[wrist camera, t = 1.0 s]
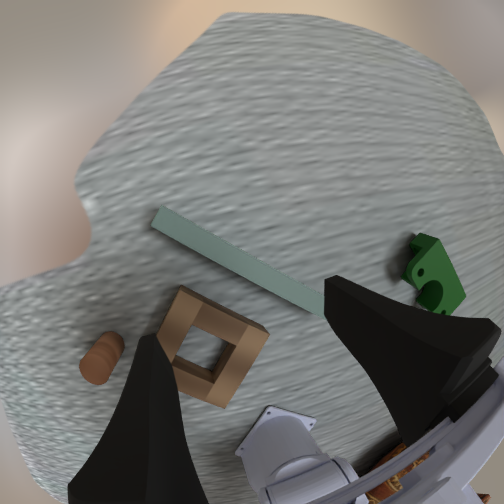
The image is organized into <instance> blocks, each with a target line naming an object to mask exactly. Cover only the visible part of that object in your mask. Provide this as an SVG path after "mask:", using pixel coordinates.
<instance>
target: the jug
mask: <svg viewBox="0 0 504 504" xmlns="http://www.w3.org/2000/svg"><path fill="white" fill-rule="evenodd" d="M406 449H407V447H406V446H405V444H404V443H401V444H399V445H398V446H396V447H395V448H393V449H392V450H391V451H390V452H389V453H387V454H386V455H385V456H384V457H382V458H381V459H380V460H379V461H378V462H377V464H376V465H375V466H374V467H373V468H372V469H371V470H370V471H369V473H370V472H371V471H373V470H375V469H376V468H378V467H380V466H381V465H383V464H384V463H386V462H388V461H389V460H391V459H392V458H394V457H395V456H397V455H398V454H400V453H401V452H403V451H404V450H406ZM430 450H431V449H430ZM430 450H429V451H428V452H426V453H425V454H424V455H423V456H421V457H420V458H419V459H417V460H416V461H414V462H413V463H412V464H410V465H409V466H408V467H406V468H405V469H403V470H402V471H400V472H399V473H397V474H396V475H394V476H393V477H391V478H390V479H388V480H387V481H385V482H383V483H382V484H380V485H378V486H377V487H375V488H373V489H372V490H370V491H368V492H366V493H365V495H366V497H367V499H368V501H369V503H368V504H378V503H379V502H381V501H383V500H384V499H386V498H388V497H389V496H391V495H393V494H394V493H396V492H397V491H399V490H400V489H402V488H403V487H402V485H401V484H400V482H399V479H400V478H401V477H403V476H404V475H406V474H407V473H409V472H410V471H411V470H413V469H414V468H415V467H417V466H418V465H419V464H421V463H422V462H423V461H425V460H426V459H427V458H428V457H429V452H430ZM477 495H478V497H479V498H480V499H481V501H482V502H483V503H484V504H487V503H488V501H489V499H490V498H491V497H490V495H489V494H477Z"/></svg>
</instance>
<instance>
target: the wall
mask: <svg viewBox="0 0 504 504" xmlns="http://www.w3.org/2000/svg"><path fill="white" fill-rule="evenodd" d="M150 226H152V227H154V228H155V229H157V230H159V231H161V232H162V233H164V234H166V235H168V236H170V237H171V238H173V239H175V240H177V241H178V242H180V243H182V244H184V245H186V246H187V247H189V248H191V249H193V250H195V251H196V252H198V253H200V254H202V255H204V256H206V257H207V258H209V259H211V260H213V261H215V262H216V263H218V264H220V265H222V266H224V267H226V268H228V269H229V270H231V271H233V272H235V273H237V274H239V275H241V276H242V277H244V278H246V279H248V280H250V281H252V282H254V283H255V284H257V285H259V286H261V287H263V288H265V289H267V290H269V291H271V292H273V293H274V294H276V295H278V296H280V297H282V298H284V299H286V300H288V301H290V302H292V303H294V304H296V305H297V306H299V307H301V308H303V309H305V310H307V311H309V312H311V313H313V314H315V315H317V316H319V317H321V318H323V319H325V320H327V319H326V318H325V316H324V296H323V295H322V294H320V293H318V292H316V291H314V290H313V289H311V288H309V287H307V286H305V285H304V284H302V283H300V282H298V281H296V280H295V279H293V278H291V277H289V276H287V275H286V274H284V273H282V272H280V271H278V270H277V269H275V268H273V267H271V266H270V265H268V264H266V263H264V262H262V261H261V260H259V259H257V258H255V257H253V256H252V255H250V254H248V253H246V252H244V251H243V250H241V249H239V248H237V247H236V246H234V245H232V244H230V243H228V242H227V241H225V240H223V239H221V238H219V237H218V236H216V235H214V234H212V233H211V232H209V231H207V230H205V229H203V228H202V227H200V226H198V225H196V224H194V223H193V222H191V221H189V220H187V219H186V218H184V217H182V216H180V215H178V214H177V213H175V212H173V211H171V210H170V209H168V208H166V207H164V206H162V205H161V207H160V209H159V211H158V213H157V214H156V216H155V218H154V220H153V222H152V223H151V225H150Z"/></svg>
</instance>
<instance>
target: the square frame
mask: <svg viewBox="0 0 504 504" xmlns="http://www.w3.org/2000/svg"><path fill="white" fill-rule="evenodd" d="M191 325H194V326H196V327H198V328H200V329H202V330H204V331H206V332H208V333H210V334H213V335H215V336H217V337H219V338H221V339H223V340H225V341H228V342H229V343H228V345H227V346H226V348H225V350H224V352H223V353H222V355H221V357H220V359H219V360H218V362H217V364H216V366H215V367H214V369H213V371H210V370H208V369H205V368H203V367H201V366H198V365H196V364H194V363H192V362H190V361H187V360H185V359H183V358H181V357H179V356H177V355H176V353H177V351H178V349H179V347H180V346H181V344H182V342H183V340H184V338H185V336H186V334H187V332H188V330H189V328H190V327H191ZM156 336H157V338H158V340H159V342H160V344H161V346H162V348H163V350H164V351H165V353H166V355H167V357H168V359H169V361H170V362H171V364H172V367H173V371H174V375H175V379H176V383H177V387H178V391H180V392H183V393H185V394H188V395H190V396H192V397H195V398H197V399H200V400H203V401H205V402H208V403H210V404H213V405H216V406H219V407H221V408H224V409H225V407H226V406H227V404H228V403H229V401H230V400H231V398H232V396H233V395H234V393H235V392H236V390H237V389H238V387H239V385H240V384H241V382H242V381H243V379H244V377H245V376H246V374H247V372H248V371H249V369H250V368H251V366H252V364H253V363H254V361H255V359H256V358H257V356H258V354H259V353H260V351H261V349H262V347H263V346H264V344H265V342H266V341H267V339H268V337H269V336H270V334H269V333H268V331H267V330H266V329H265V328H264V326H262V325H260V324H258V323H256V322H254V321H252V320H250V319H248V318H246V317H244V316H242V315H240V314H238V313H236V312H234V311H232V310H230V309H228V308H226V307H224V306H222V305H220V304H218V303H216V302H214V301H212V300H210V299H208V298H206V297H204V296H202V295H200V294H198V293H196V292H194V291H193V290H191V289H189V288H187V287H185V286H183V285H181V286H180V288H179V290H178V292H177V294H176V296H175V298H174V300H173V302H172V304H171V306H170V308H169V310H168V312H167V314H166V316H165V318H164V320H163V322H162V324H161V326H160V328H159V330H158V332H157V334H156Z"/></svg>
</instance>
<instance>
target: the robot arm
mask: <svg viewBox="0 0 504 504" xmlns="http://www.w3.org/2000/svg"><path fill="white" fill-rule="evenodd" d="M324 316H325V318H326V319H327V321H328V323H329V324H330V326H331V328H332V329H333V331H334V332H335V334H336V335H337V336H338V338H339V339H340V340H341V341H342V343H343V344H344V345H345V346H346V347H347V349H348V350H349V351H350V352H351V354H352V355H353V356H354V357H355V358H356V360H357V361H358V362H359V363H360V365H361V366H362V367H363V368H364V370H365V371H366V373H367V374H368V375H369V377H370V379H371V380H372V382H373V383H374V385H375V387H376V388H377V390H378V392H379V393H380V395H381V397H382V399H383V400H384V402H385V404H386V406H387V408H388V410H389V412H390V414H391V416H392V418H393V420H394V422H395V424H396V426H397V428H398V431H399V433H400V435H401V438H402V440H403V443H404V444H405V446H406V447H407V449H406V450H404V451H403V452H401V453H400V454H398V455H397V456H395V457H394V458H392V459H391V460H389V461H388V462H386V463H384V464H383V465H381V466H380V467H378V468H376V469H375V470H373V471H371V472H370V473H368V474H366V475H364V476H362V477H361V478H359V477H358V476H357V474H356V472H355V471H354V469H353V468H352V466H351V465H350V464H349V462H348V461H347V460H345V459H344V458H340V457H335V458H333V459H332V460H331V458H330V457H329V455H328V454H327V453H325V454H323V452H322V451H321V449H320V448H319V446H318V445H317V443H316V442H315V440H314V439H313V437H312V436H311V434H310V433H309V431H310V430H311V428H312V427H313V426H314V424H315V423H316V421H317V420H316V419H315V418H312V417H309V416H305V415H301V414H297V413H294V412H290V411H287V410H283V409H280V408H277V407H273V406H268V407H267V408H266V410H265V411H264V413H263V414H262V415H261V417H260V418H259V420H258V421H257V423H256V424H255V425H254V427H253V428H252V429H251V431H250V432H249V434H248V435H247V436H246V438H245V439H244V440H243V442H242V443H241V444H240V446H239V447H238V448H237V450H236V451H235V455H237V456H241V458H242V462H243V465H244V469H245V472H246V475H247V479H248V482H249V484H250V486H251V488H252V489H253V490H254V491H255V492H256V493H257V494H258V499H259V502H260V504H368V503H369V501H368V499H367V497H366V495H365V493H366V492H368V491H370V490H372V489H373V488H375V487H377V486H378V485H380V484H382V483H383V482H385V481H387V480H388V479H390V478H391V477H393V476H394V475H396V474H397V473H399V472H400V471H402V470H403V469H405V468H406V467H408V466H409V465H410V464H412V463H413V462H414V461H416V460H417V459H419V458H420V457H421V456H423V455H424V454H425V453H426V452H428V451H429V450H430V449H431V450H430V452H429V457H428V458H427V459H426V460H425V461H423V462H422V463H421V464H419V465H418V466H417V467H415V468H414V469H413V470H411V471H410V472H409V473H407V474H406V475H404V476H403V477H401V478H400V479H399V482H400V484H401V485H402V487H403V488H402V489H400V490H399V491H397V492H396V493H394V494H393V495H391V496H389V497H388V498H386V499H384V500H383V501H381V502H379V503H378V504H484V503H483V502H482V501H481V499H480V498H479V497H478V495H477V494H476V492H475V491H474V490H473V488H472V487H471V486H470V484H469V482H470V481H471V480H472V479H473V477H474V476H475V475H476V474H477V473H478V472H479V470H480V469H481V468H482V467H483V465H484V464H485V463H486V462H487V460H488V459H489V458H490V456H491V455H492V454H493V452H494V451H495V450H496V448H497V447H498V445H499V444H500V442H501V441H502V440H503V438H504V356H503V357H502V358H501V360H500V361H499V362H498V363H497V364H496V366H495V367H494V368H492V367H491V366H490V365H491V363H492V360H491V359H490V358H489V357H488V356H489V354H490V353H491V351H492V350H493V348H494V346H495V345H496V343H497V341H498V339H499V337H500V335H501V329H500V328H499V327H498V326H497V325H496V324H495V323H494V322H492V321H491V320H490V319H489V318H466V317H457V316H450V315H444V314H439V313H434V312H430V311H425V310H422V309H418V308H415V307H412V306H409V305H406V304H403V303H400V302H397V301H395V300H392V299H390V298H387V297H385V296H382V295H380V294H378V293H376V292H373V291H371V290H369V289H367V288H365V287H362V286H360V285H358V284H356V283H354V282H352V281H349V280H347V279H345V278H343V277H340V276H338V275H335V276H333V277H330V278H327V279H325V286H324ZM267 412H269V413H267ZM311 423H312V424H311ZM241 448H243V449H241ZM68 503H69V504H209V503H208V500H207V498H206V496H205V493H204V491H203V489H202V486H201V484H200V481H199V478H198V476H197V473H196V470H195V467H194V465H193V462H192V459H191V455H190V452H189V449H188V446H187V442H186V438H185V433H184V428H183V421H182V415H181V408H180V401H179V394H178V387H177V383H176V379H175V375H174V371H173V367H172V364H171V362H170V361H169V359H168V357H167V355H166V353H165V351H164V350H163V348H162V346H161V344H160V342H159V340H158V338H157V336H156V334H151V335H147V336H143V337H141V338H140V340H139V343H138V346H137V350H136V353H135V356H134V360H133V363H132V366H131V369H130V372H129V375H128V378H127V381H126V384H125V387H124V389H123V392H122V394H121V397H120V400H119V402H118V405H117V407H116V409H115V412H114V414H113V416H112V418H111V420H110V422H109V424H108V426H107V428H106V430H105V432H104V434H103V436H102V437H101V439H100V441H99V443H98V444H97V446H96V447H95V449H94V450H93V452H92V454H91V455H90V457H89V458H88V460H87V461H86V463H85V464H84V465H83V467H82V468H81V469H80V470H79V472H78V473H77V474H76V475H75V477H74V478H73V479H72V480H71V482H70V483H69V484H68Z"/></svg>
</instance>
